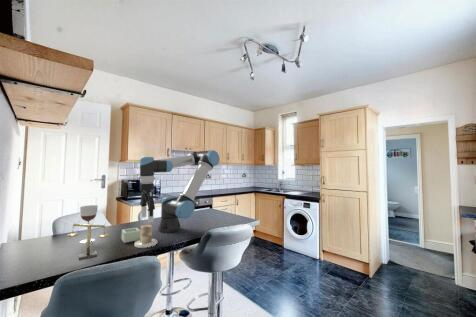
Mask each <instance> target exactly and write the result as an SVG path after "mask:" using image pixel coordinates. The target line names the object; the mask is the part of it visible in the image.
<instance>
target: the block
mask: <svg viewBox="0 0 476 317" xmlns="http://www.w3.org/2000/svg"><path fill="white" fill-rule="evenodd" d="M139 230H140V242H141V243H142V244H146V243H151V242H152V239H153V238H152V237H153V226H152V225H151V224H143V225H140V229H139Z"/></svg>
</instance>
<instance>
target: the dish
mask: <svg viewBox="0 0 476 317" xmlns="http://www.w3.org/2000/svg"><path fill="white" fill-rule="evenodd" d="M158 241H159V240H157V239H156V238H152V242H151V243H146V244H142V243H141V242H140V240H137V241H134V247H135V248H137V249H146V248H147V247H148V248H151V246H152V247H155V246H157V245H158ZM156 244H157V245H156Z"/></svg>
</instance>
